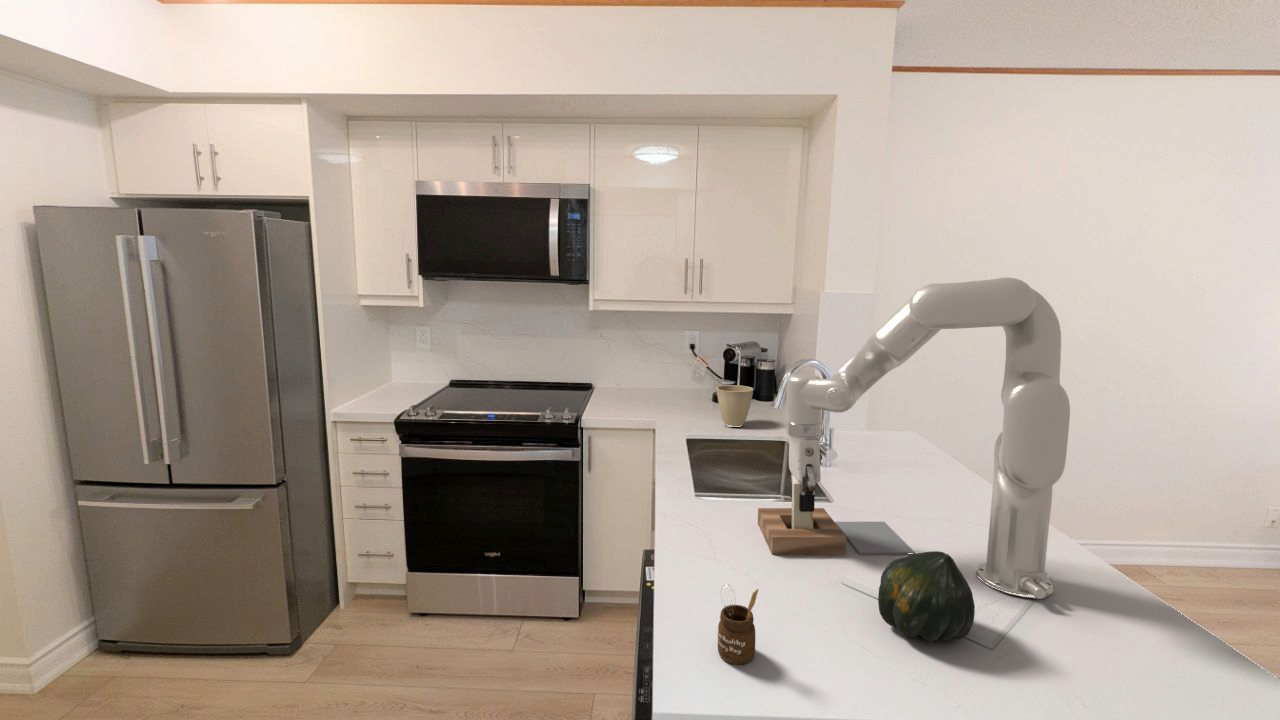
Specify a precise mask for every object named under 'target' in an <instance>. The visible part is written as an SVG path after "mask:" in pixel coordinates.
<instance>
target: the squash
mask: <svg viewBox="0 0 1280 720" xmlns="http://www.w3.org/2000/svg"><path fill="white" fill-rule="evenodd" d="M877 595H878V597H877V603H878V609H879V613H880V616H881V618H882V620H883V621H884V622H885V623H886V624H887V625H888V626H890V627H892V628H894V629H897V630H898V631H899V632H900V633H901V635H903V636H907V637H909V638H916V637H918V636H921V637H922V638H923V640H925V641H928V642H936V640H937V641H948V640H953V641H955V640H961V639H963V638H965V637H966V636H968V635H969V634H970V633H971V632H970V631H971V630H972V628H973V625H974V620H975V614H976V613H975V612H976V611H975V609H976V608H975V601H974V596H973V591H972V590H971V587H970V584H969V583H968V581H967V580H966V578H965V576H964V575H963V573H962V572H961V570H960V569H959V567H958V565H957V564H956V562H955V560H954V559H953V558H952V556H950V554H948V553H946V552H944V551H938V550H936V551H935V550H933V551H924V552H918V553H915V554H914V555H907V556H904V557H900V558H898V559H895V560H892V561H890V562H889V563H888V564H887V565H886V566H885V569H884V570H883V572H882V573H881V576H880V585H879V587H878V594H877Z"/></svg>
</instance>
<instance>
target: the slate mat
mask: <svg viewBox="0 0 1280 720" xmlns="http://www.w3.org/2000/svg"><path fill="white" fill-rule="evenodd" d="M834 522H835V523H836V525H837V526H838V527H839V528H840V530H841V531H842V532H843V533H844V535H845V536H846V540H847V541H848V542H849V543H850V544H851V546H852V547H853V548H854V549H855V551H856V553H857V554H858V555H865V556H866V555H867V556H868V555H871V556H873V555H876V554H878V555H879V556H880V555H881V554H908V553H913V554H916V553H915V551H914V550H913V549H912V548H911V547H910V546H909V545H908V544H907V543H906V542H905V541H904V540H903V539H902V538H901V537H900V536H899V535H898V534H897V533H896V532H895V530H894V529H892V528H891V526H889V525H888V523H886V522H885V521H834ZM876 556H877V555H876Z"/></svg>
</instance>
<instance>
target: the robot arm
mask: <svg viewBox="0 0 1280 720" xmlns="http://www.w3.org/2000/svg"><path fill="white" fill-rule="evenodd" d="M992 327H993V328H994V327H995V328H996V327H1002V328H1003V330H1004V334H1005V360H1004V361H1005V365H1004V372H1003V373H1004V374H1003V382H1002V388H1001V391H1000V398H1001V403H1002V405H1003V406H1002V407H1003V419H1002V420H1003V421H1002V431H1001V432H1000V434H999V435H998V436H997V438H996V440H995V443H994V451H993V477H992V478H993V480H992V492H991V501H990V502H991V504H990V514H989V515H990V516H989V527H988V541H987V552H986V553H987V554H986V561H984V562H982V563H980V564H978V565H977V567H976V576H977V575H978V576H979V577H980V578H981V579H982V580H983V581H984V582H986V583H988V584H989V585H991V586H993V587H995V588H997V589H1000V590H1003V591H1007V592H1011V593H1016V594H1023V595H1028V594H1029V595H1030V594H1031V595H1034V596H1035V598H1034V599H1037V600H1041V599H1045V598H1048V597H1050V596H1051V595H1052V594H1053V593H1054V585H1053V583H1052V581H1051V580H1050V578H1048V572H1046V571H1045V570H1046V562H1047V561H1046V560H1047V552H1048V541H1049V540H1048V539H1049V530H1050V529H1049V528H1050V521H1051V519H1050V518H1051V511H1052V502H1053V501H1052V500H1053V486H1054V485H1055V484H1056V483H1057V482H1058V481H1060V479H1061V478H1062V476H1063V473H1064V471H1065V467H1066V460H1067V451H1068V441H1069V429H1070V420H1071V419H1070V416H1071V405H1070V399H1069V396H1068V393H1067V391H1066V390H1065V388H1064V387H1063V386H1062V385H1061V381H1060V380H1061V377H1060V376H1061V360H1062V358H1061V357H1062V356H1061V355H1062V352H1061V351H1062V331H1061V325H1060V322H1059V317H1058V316H1057V314H1056V312H1055V310H1054V308H1053V307H1052V305H1051V304H1050V303H1049V302H1048V301H1047V299H1046V298H1045V297H1044V296H1043V295H1042V294H1040V293H1039V292H1038V291H1037V290H1035V289H1034V288H1032V287H1031V286H1030V285H1029V284H1028V283H1027V282H1026V281H1025V282H1024V281H1023V280H1021V279H1019V278H1015V277H999V278H993V279H992V278H991V279H984V280H983V279H982V280H971V281H959V282H947V283H945V282H944V283H942V282H941V283H935V282H934V283H930V284H926V285H923V286H921V287H920V288H918V289H917V290H916V291H915V293H914V294H913V295H912V296H911V297H910V298H909V299H908V300H907V301H905V303H904V304H903V305H901V306H900V308H899V309H897V311H895V312H894V313H893V314H892V315H891V316H890V317H889V318H888V319H887V320H886V321H885V322H883V324H882V325H880V326H879V327H878V328H877V329H876V330H874V332H873V333H872V334H871V335H870V337H868V340H867V341H866V343H865V344H864V345H863V346H862V347H861V349H860V350H859V351H857V353H856V354H855V355H854V356H852V358H850V359H849V360H848V361H847V362H846V363H845V364H844V365H843V366H842V367H841V368H840V369H839V370H837V371H836V372H835V374H833V375H831V376H830V377H829V378H821V377H820V376H819V375H817V374H812V373H811V374H810V373H796V374H791V375H790V376H789V377H788V378H787V380H786V381H787V382H786V426H785V427H786V429H785V430H786V432H785V433H786V434H785V435H786V436H787V437H789V444H788V469H789V471H790V474H791V475H790V498H791V499H792V475H794V477H795V478H796V479H797V480H798V481H799V482H800V487H801V494H800V497H799V510H800V511H801V512H813V511H814V508H815V495H816V491H815V490H816V486H817V485H816V483H820V481H821V451H820V449H821V448H820V442H819V439H820V438H821V437H822V410H823V411H826V412H831V413H839V414H841V413H845V412H848V411H849V410H851V409H853V407H854V405H855V404H856V402H858V400H859V399H861V397H862V396H863V395H864V394H865V393H866V392H868V391H869V389H871V388H872V387H873V386H874V385H875V384H877V382H879V380H881V379H882V378H883V377H884V376H885V375H887V374H888V373H890V372H891V371H892V370H894V369H896V368H898V367H900V366H902V365H903V364H904V363H905V362H907V361H908V360H909V359H910V358H911V357H912V356H913V355H914V354H915V353H917V351H919V350H920V349H921V348H922V347H924V345H926V344H927V343H928V342H930V340H931V339H932V338H934V337H935V336H936V335H937V334H938V333H940V332H941V330H955V329H959V330H961V329H973V328H974V329H975V328H978V329H979V328H992ZM803 478H807V479H808V480H803ZM804 484H808V486H806V487H805V489H804ZM978 576H977V577H978ZM1034 599H1033V600H1034Z"/></svg>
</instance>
